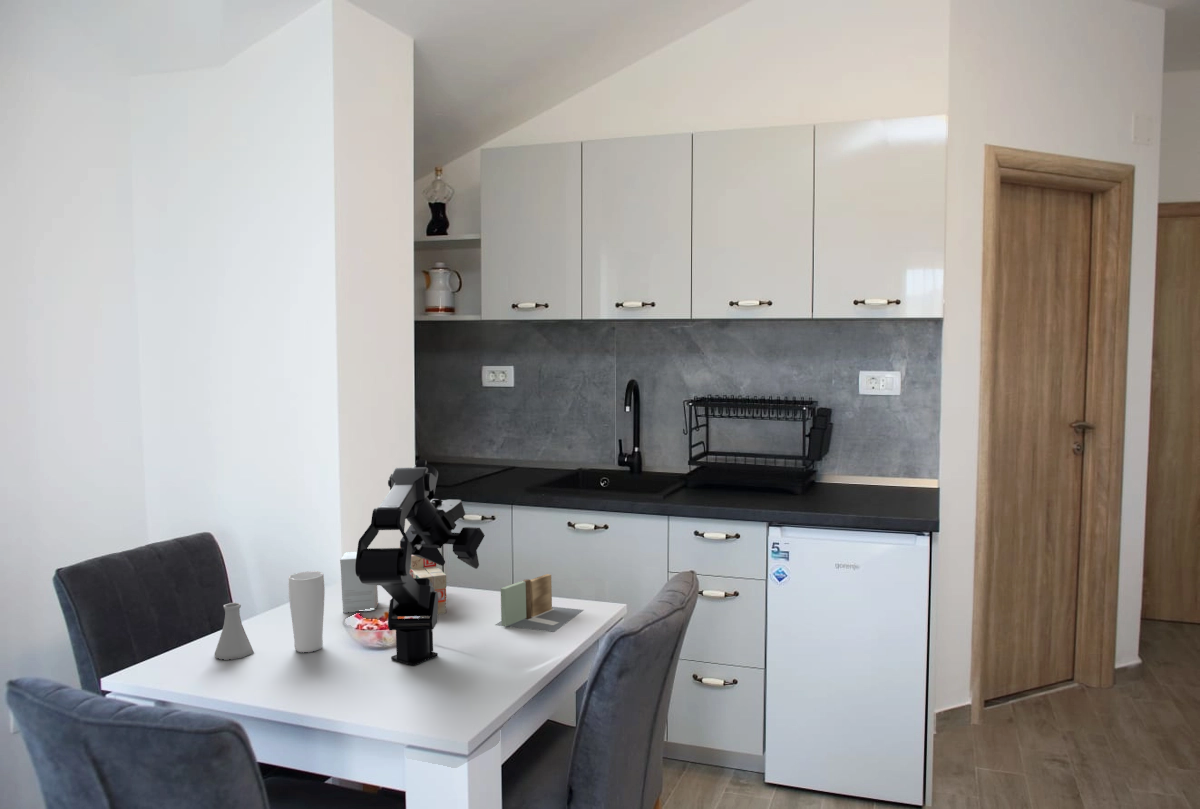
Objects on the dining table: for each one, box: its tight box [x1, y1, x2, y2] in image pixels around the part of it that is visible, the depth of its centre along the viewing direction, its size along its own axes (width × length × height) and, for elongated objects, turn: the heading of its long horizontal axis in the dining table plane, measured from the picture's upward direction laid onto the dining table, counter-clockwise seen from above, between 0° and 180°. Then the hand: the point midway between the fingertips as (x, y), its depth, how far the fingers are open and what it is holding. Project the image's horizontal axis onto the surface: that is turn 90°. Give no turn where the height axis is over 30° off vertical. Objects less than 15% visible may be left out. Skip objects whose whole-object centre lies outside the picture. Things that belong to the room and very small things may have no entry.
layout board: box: [495, 606, 584, 633], centre depth 186 cm, size 16×14×1 cm
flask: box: [214, 602, 255, 661], centre depth 167 cm, size 7×7×10 cm
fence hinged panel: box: [500, 580, 526, 627], centre depth 182 cm, size 7×1×8 cm, turn 144°
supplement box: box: [339, 551, 379, 614], centre depth 197 cm, size 7×7×13 cm
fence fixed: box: [523, 573, 553, 619], centre depth 188 cm, size 9×2×8 cm, turn 144°
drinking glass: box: [287, 570, 326, 653], centre depth 169 cm, size 7×7×15 cm
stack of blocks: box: [398, 546, 447, 618], centre depth 199 cm, size 21×6×12 cm, turn 25°
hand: (460, 565), depth 178 cm, fingers open, 9 cm apart
